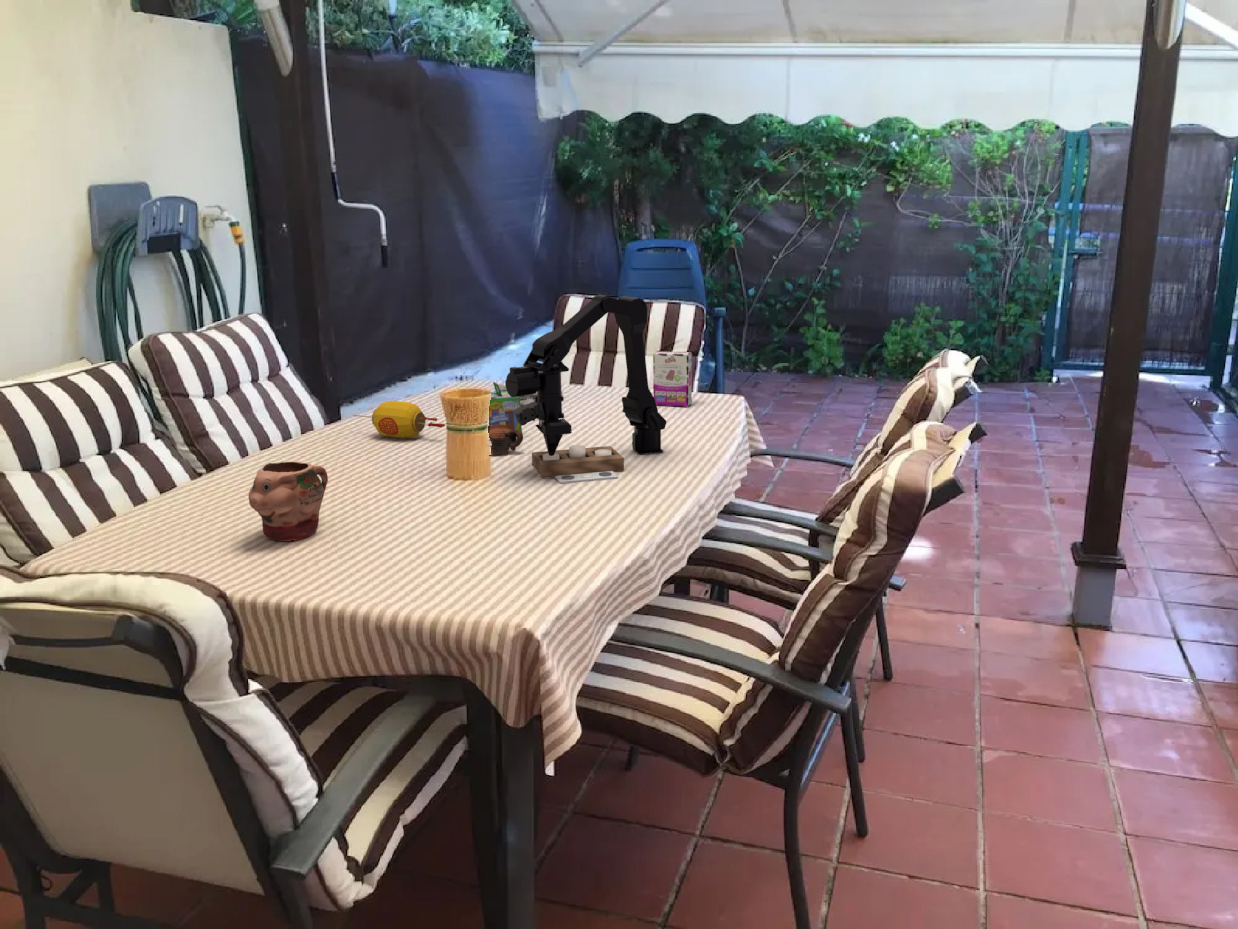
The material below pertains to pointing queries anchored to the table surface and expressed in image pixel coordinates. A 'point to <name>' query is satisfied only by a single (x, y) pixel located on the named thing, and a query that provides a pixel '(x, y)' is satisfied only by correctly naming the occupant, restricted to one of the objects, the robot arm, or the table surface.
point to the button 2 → (602, 452)
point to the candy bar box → (672, 378)
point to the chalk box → (503, 409)
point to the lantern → (400, 419)
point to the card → (586, 477)
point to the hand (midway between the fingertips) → (551, 455)
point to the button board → (577, 463)
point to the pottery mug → (503, 439)
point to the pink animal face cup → (288, 499)
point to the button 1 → (550, 457)
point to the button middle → (577, 451)
